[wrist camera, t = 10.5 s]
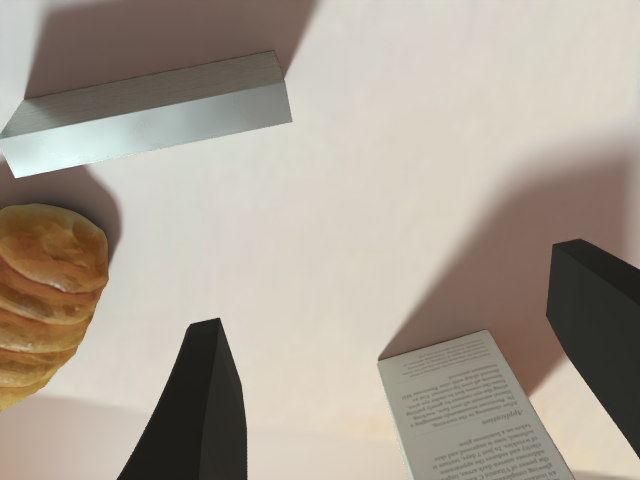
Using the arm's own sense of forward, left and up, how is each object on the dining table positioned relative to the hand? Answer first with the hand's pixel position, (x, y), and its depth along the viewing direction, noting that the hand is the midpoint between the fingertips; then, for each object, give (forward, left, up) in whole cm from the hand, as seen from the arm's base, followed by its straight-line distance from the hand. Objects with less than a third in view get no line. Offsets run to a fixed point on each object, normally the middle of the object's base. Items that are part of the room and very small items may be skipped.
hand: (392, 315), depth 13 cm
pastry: (+13, +4, -10) cm, 17 cm away
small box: (-4, +15, -10) cm, 19 cm away
